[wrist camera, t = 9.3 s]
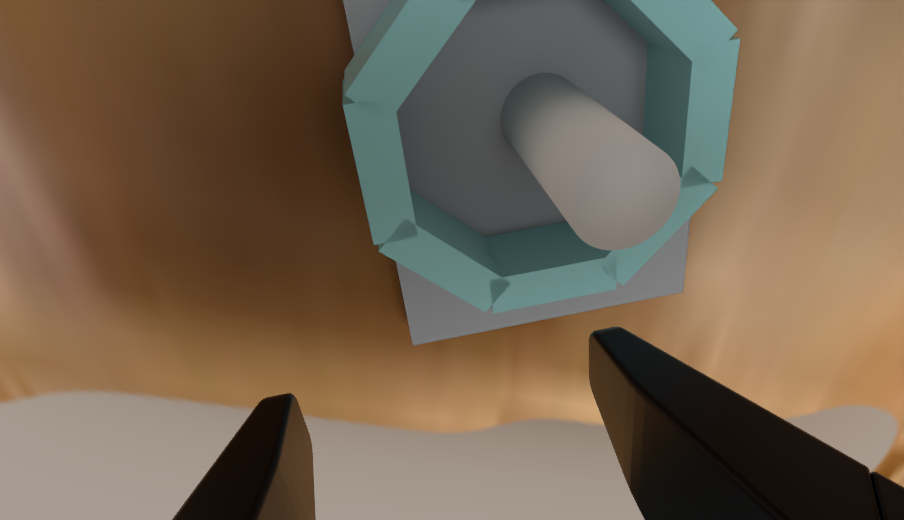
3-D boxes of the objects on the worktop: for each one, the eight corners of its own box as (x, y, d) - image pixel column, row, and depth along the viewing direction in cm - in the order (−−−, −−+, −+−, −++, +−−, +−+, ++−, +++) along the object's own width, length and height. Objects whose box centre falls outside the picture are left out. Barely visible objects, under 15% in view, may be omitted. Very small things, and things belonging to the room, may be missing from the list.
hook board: (702, -223, 15) (969, -325, 9) (663, 270, 23) (788, 410, 16) (310, -171, 14) (282, -240, 8) (408, 320, 22) (435, 486, 16)
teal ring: (699, -102, 15) (758, -105, 13) (671, 233, 20) (710, 270, 18) (315, -45, 14) (311, -38, 12) (387, 287, 19) (393, 333, 17)
